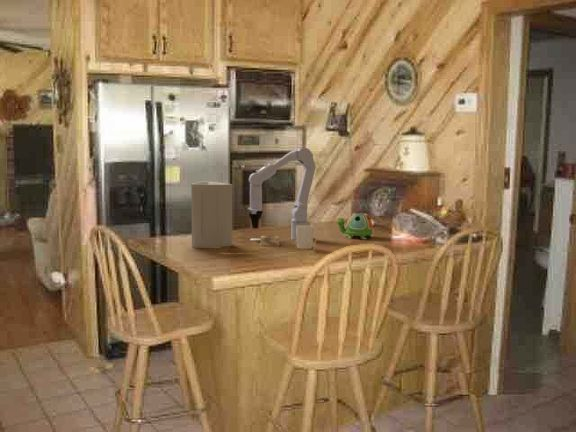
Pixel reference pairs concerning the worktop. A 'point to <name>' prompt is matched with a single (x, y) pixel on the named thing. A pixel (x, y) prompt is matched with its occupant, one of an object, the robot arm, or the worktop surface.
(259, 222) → the rust block
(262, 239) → the maple brick
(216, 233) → the ribbed grey pillar
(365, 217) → the turtle holder
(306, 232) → the white cup
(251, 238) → the build board
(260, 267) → the worktop surface
